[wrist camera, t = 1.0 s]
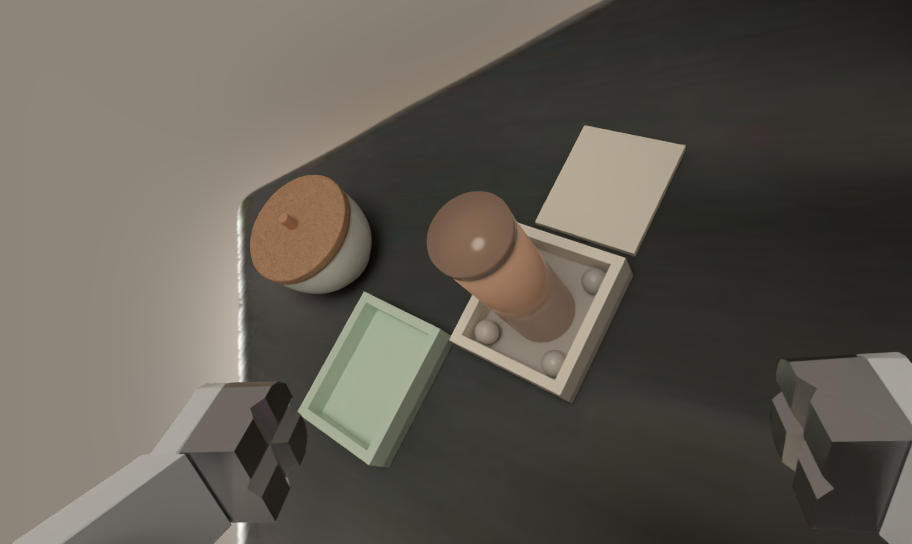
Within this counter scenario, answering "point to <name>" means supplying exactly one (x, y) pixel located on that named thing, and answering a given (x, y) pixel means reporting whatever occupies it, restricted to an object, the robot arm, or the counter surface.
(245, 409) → the robot arm
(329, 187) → the lidded jar
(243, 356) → the counter surface
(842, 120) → the counter surface
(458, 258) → the terracotta canister
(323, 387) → the sage tray
